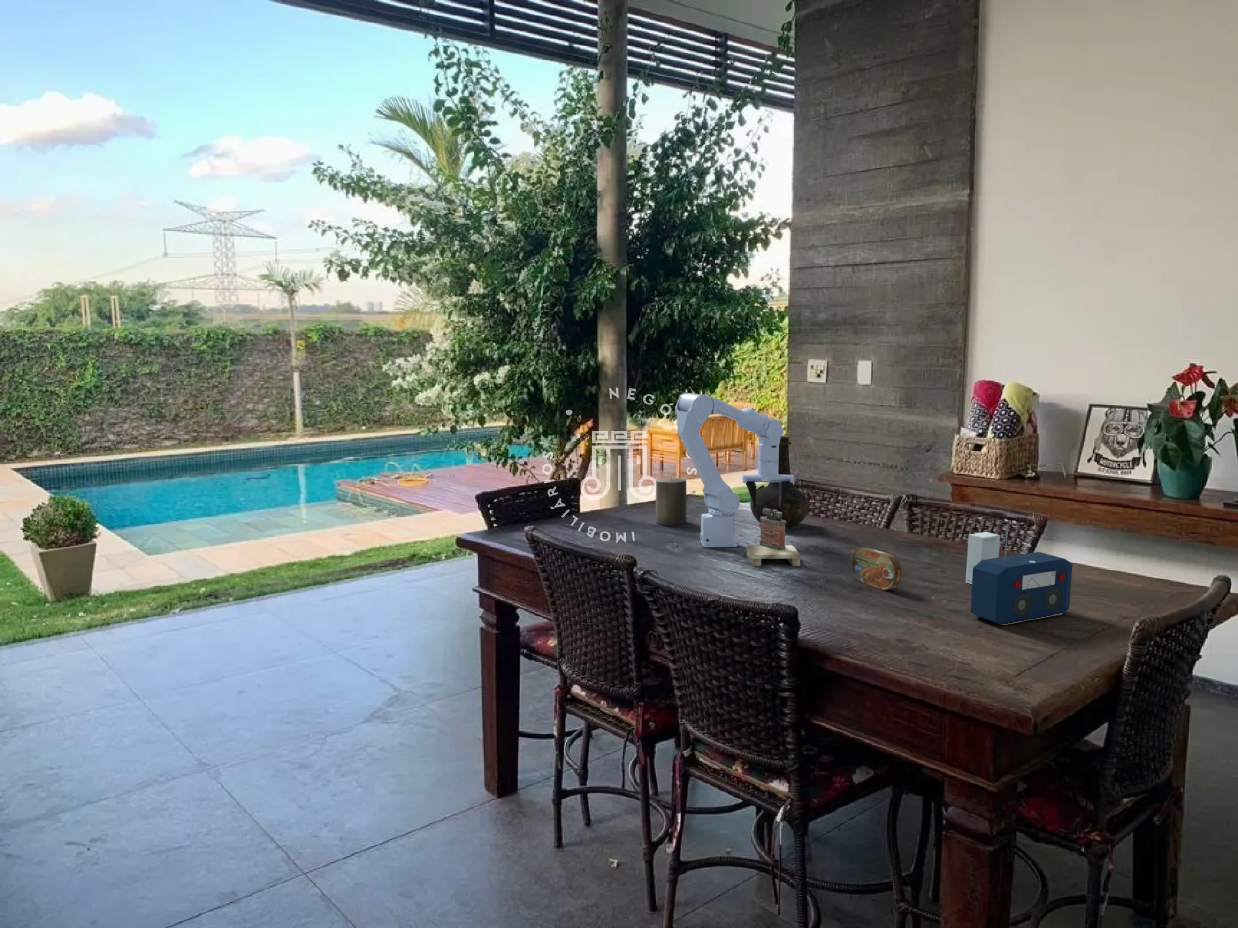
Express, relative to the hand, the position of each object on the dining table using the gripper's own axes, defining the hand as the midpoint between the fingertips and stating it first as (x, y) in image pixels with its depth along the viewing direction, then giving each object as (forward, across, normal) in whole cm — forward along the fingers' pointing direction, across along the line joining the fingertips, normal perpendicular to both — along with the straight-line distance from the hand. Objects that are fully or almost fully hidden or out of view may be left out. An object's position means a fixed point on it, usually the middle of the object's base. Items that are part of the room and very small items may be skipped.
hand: (767, 507), depth 252 cm
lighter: (+7, -3, -22) cm, 23 cm away
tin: (+10, +17, -48) cm, 52 cm away
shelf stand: (+9, -3, -25) cm, 27 cm away
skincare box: (+10, +42, -48) cm, 64 cm away
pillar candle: (+10, -26, +24) cm, 37 cm away
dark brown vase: (+10, +7, +18) cm, 22 cm away
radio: (+10, +40, -72) cm, 83 cm away
